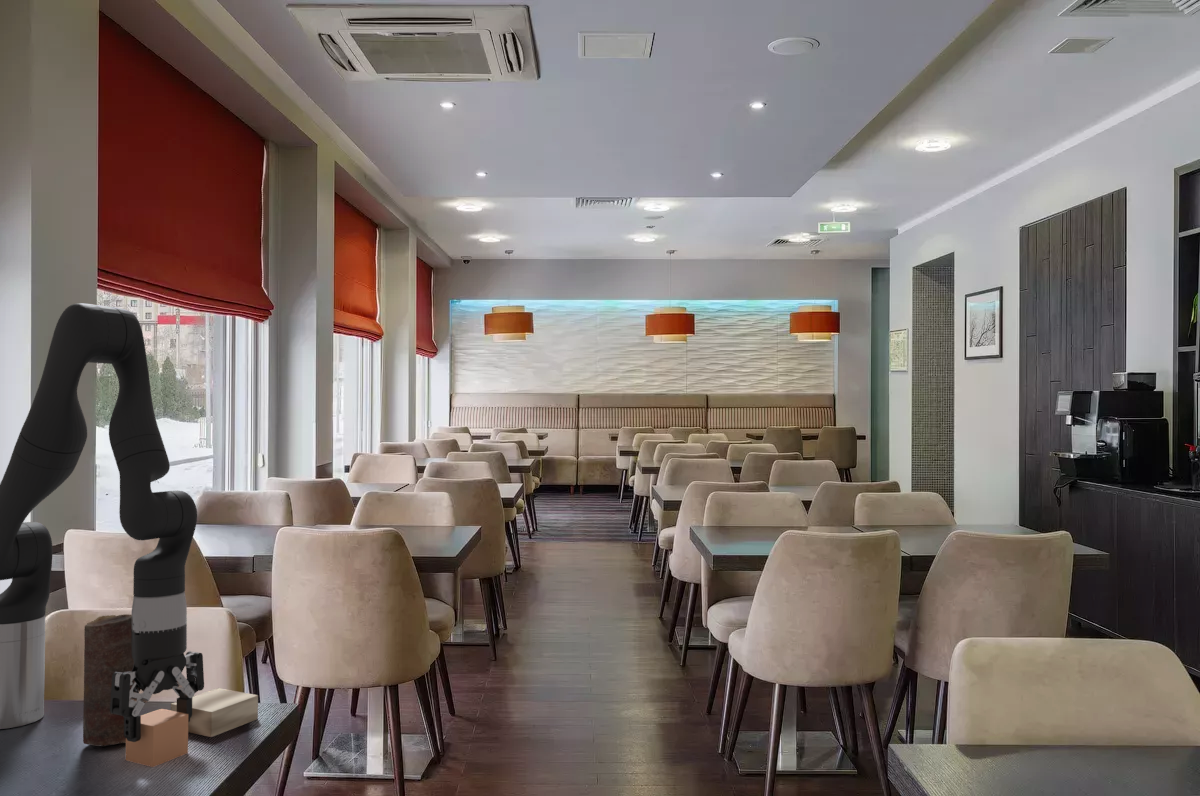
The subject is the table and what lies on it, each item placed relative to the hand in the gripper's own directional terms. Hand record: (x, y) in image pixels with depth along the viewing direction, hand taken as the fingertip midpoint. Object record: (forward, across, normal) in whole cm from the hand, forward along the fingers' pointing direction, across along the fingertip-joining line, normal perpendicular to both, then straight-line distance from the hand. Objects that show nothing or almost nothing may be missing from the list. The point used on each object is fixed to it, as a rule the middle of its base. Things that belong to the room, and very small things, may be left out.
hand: (159, 731), depth 132 cm
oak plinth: (+4, -14, -4) cm, 15 cm away
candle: (+4, 0, -12) cm, 12 cm away
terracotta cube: (+4, 0, 0) cm, 4 cm away
